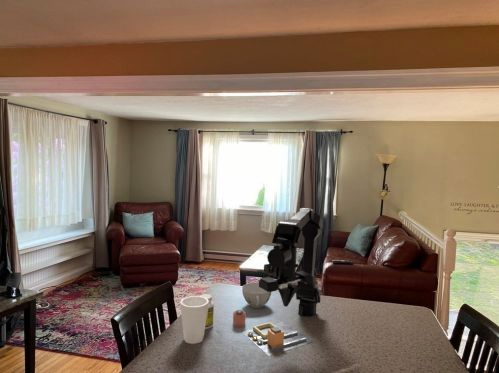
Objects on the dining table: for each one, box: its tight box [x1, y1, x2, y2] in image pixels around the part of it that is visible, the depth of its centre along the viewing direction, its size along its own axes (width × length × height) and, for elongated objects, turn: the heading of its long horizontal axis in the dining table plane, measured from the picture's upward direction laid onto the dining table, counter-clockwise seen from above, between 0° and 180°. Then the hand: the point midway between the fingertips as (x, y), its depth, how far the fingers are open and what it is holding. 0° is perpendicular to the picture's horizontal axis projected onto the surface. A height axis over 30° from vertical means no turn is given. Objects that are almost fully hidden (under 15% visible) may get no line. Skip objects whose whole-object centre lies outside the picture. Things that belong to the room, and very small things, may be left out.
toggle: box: [267, 327, 284, 347], centre depth 115 cm, size 4×4×5 cm
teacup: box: [241, 281, 272, 309], centre depth 146 cm, size 15×12×8 cm
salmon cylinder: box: [232, 309, 246, 328], centre depth 128 cm, size 4×4×6 cm
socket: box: [252, 321, 276, 339], centre depth 123 cm, size 7×7×1 cm
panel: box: [241, 320, 314, 357], centre depth 120 cm, size 18×17×2 cm
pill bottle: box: [199, 293, 215, 330], centre depth 128 cm, size 6×6×11 cm
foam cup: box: [179, 295, 209, 345], centre depth 118 cm, size 10×9×13 cm
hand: (285, 306), depth 116 cm, fingers closed
